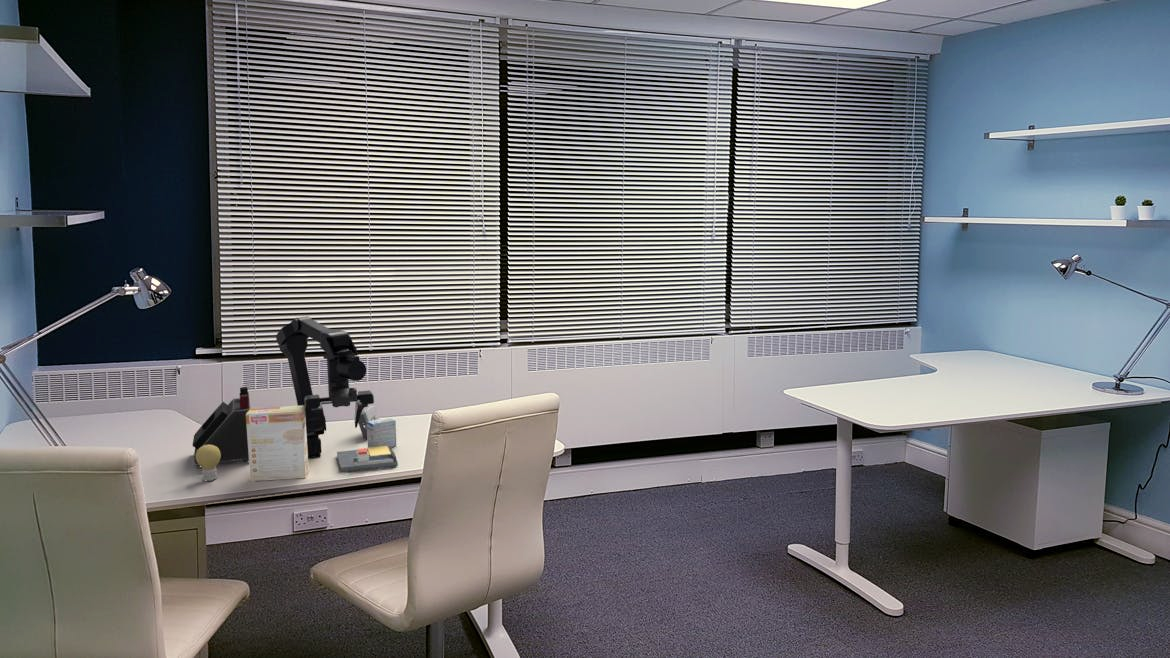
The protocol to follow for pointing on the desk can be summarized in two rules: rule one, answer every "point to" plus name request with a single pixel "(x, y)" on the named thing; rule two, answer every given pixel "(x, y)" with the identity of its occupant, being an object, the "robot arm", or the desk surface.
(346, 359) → the robot arm
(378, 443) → the medicine box
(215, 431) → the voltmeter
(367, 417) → the electrical switch
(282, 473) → the coffeecake box
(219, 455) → the light bulb
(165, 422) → the desk surface
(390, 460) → the panel
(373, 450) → the pad
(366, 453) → the breaker toggle
